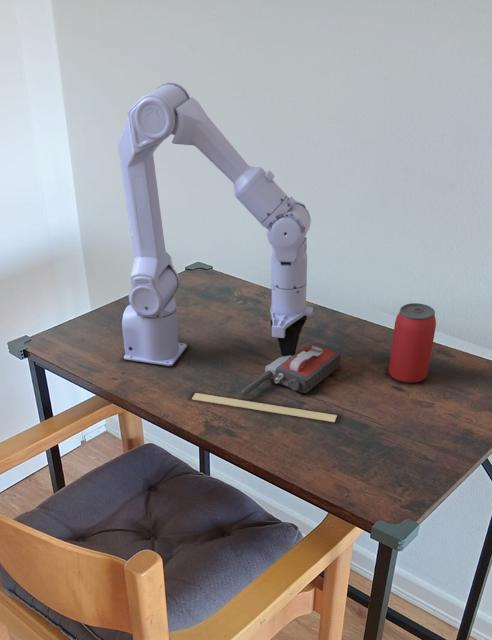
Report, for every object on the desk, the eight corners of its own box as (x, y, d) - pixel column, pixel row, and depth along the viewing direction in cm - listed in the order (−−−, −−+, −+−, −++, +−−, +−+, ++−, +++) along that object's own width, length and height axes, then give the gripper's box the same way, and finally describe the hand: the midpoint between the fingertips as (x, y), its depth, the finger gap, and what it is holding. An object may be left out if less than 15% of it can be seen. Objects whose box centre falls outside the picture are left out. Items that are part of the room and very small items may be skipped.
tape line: (191, 399, 125) (191, 398, 125) (195, 393, 126) (195, 392, 126) (334, 422, 118) (334, 421, 118) (337, 415, 120) (337, 415, 120)
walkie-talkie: (303, 349, 136) (236, 398, 124) (304, 327, 133) (236, 375, 122) (345, 363, 132) (280, 416, 120) (347, 341, 129) (281, 393, 117)
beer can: (430, 369, 130) (442, 305, 123) (422, 388, 126) (433, 322, 118) (393, 362, 133) (402, 299, 125) (383, 380, 128) (392, 315, 121)
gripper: (303, 303, 116) (301, 379, 124) (322, 266, 127) (319, 339, 135) (258, 299, 118) (260, 374, 126) (281, 263, 128) (281, 335, 137)
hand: (288, 356), depth 131 cm, fingers closed, pressing on walkie-talkie
